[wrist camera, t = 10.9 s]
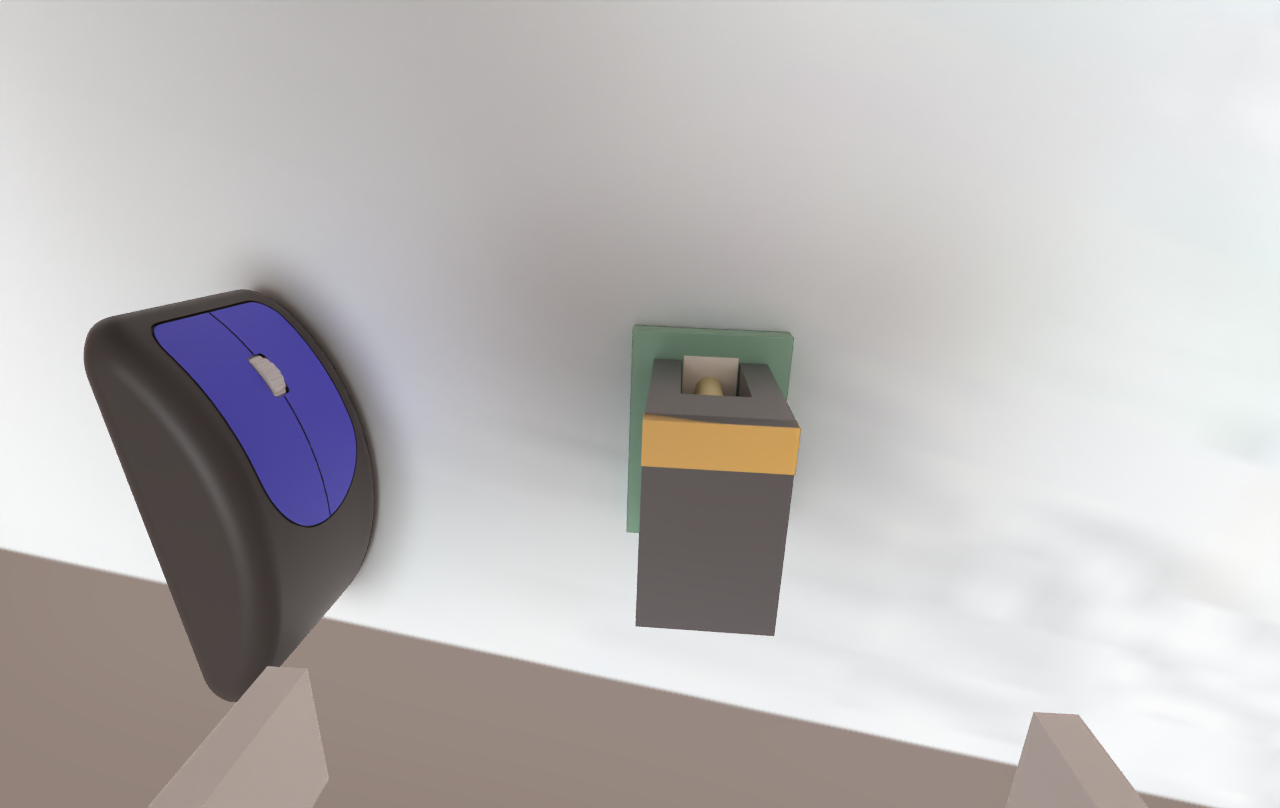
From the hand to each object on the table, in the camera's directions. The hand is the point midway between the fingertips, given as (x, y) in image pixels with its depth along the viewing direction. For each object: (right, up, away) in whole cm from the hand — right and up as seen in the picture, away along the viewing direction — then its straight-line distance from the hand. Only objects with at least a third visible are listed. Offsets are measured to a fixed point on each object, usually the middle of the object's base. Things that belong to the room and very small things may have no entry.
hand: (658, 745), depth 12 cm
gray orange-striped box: (+3, +4, +17) cm, 18 cm away
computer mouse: (-17, +4, +20) cm, 27 cm away
